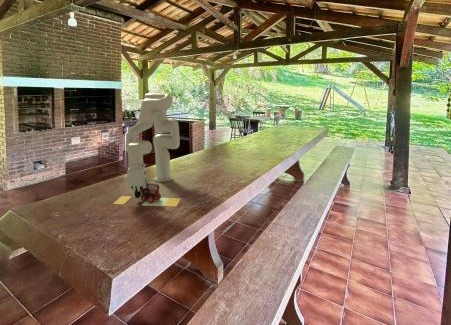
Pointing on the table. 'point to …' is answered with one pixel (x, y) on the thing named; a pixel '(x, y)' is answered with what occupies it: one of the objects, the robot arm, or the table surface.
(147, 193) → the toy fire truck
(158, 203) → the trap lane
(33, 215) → the table surface
